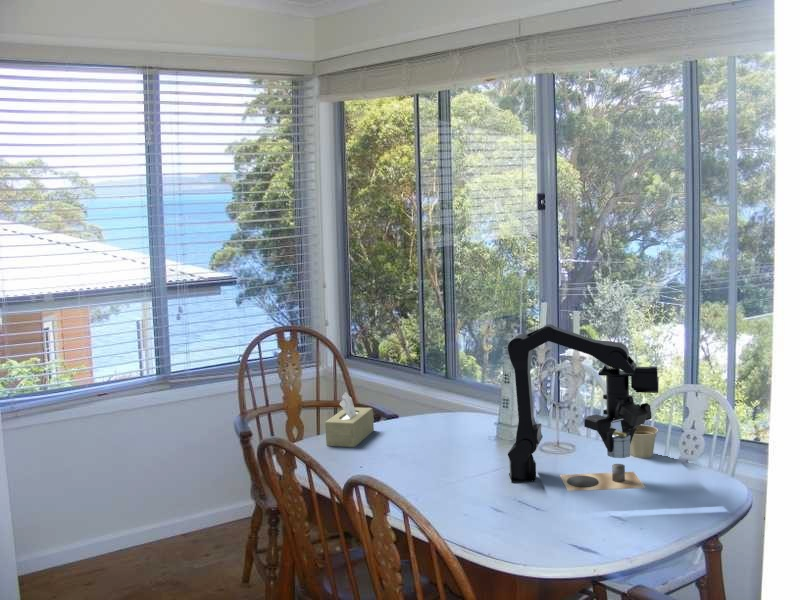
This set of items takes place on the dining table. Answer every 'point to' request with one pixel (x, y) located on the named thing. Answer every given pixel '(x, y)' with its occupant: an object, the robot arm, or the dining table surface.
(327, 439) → the tissue box
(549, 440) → the dining table surface
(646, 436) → the flower pot
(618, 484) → the board
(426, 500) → the dining table surface
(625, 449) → the cap
